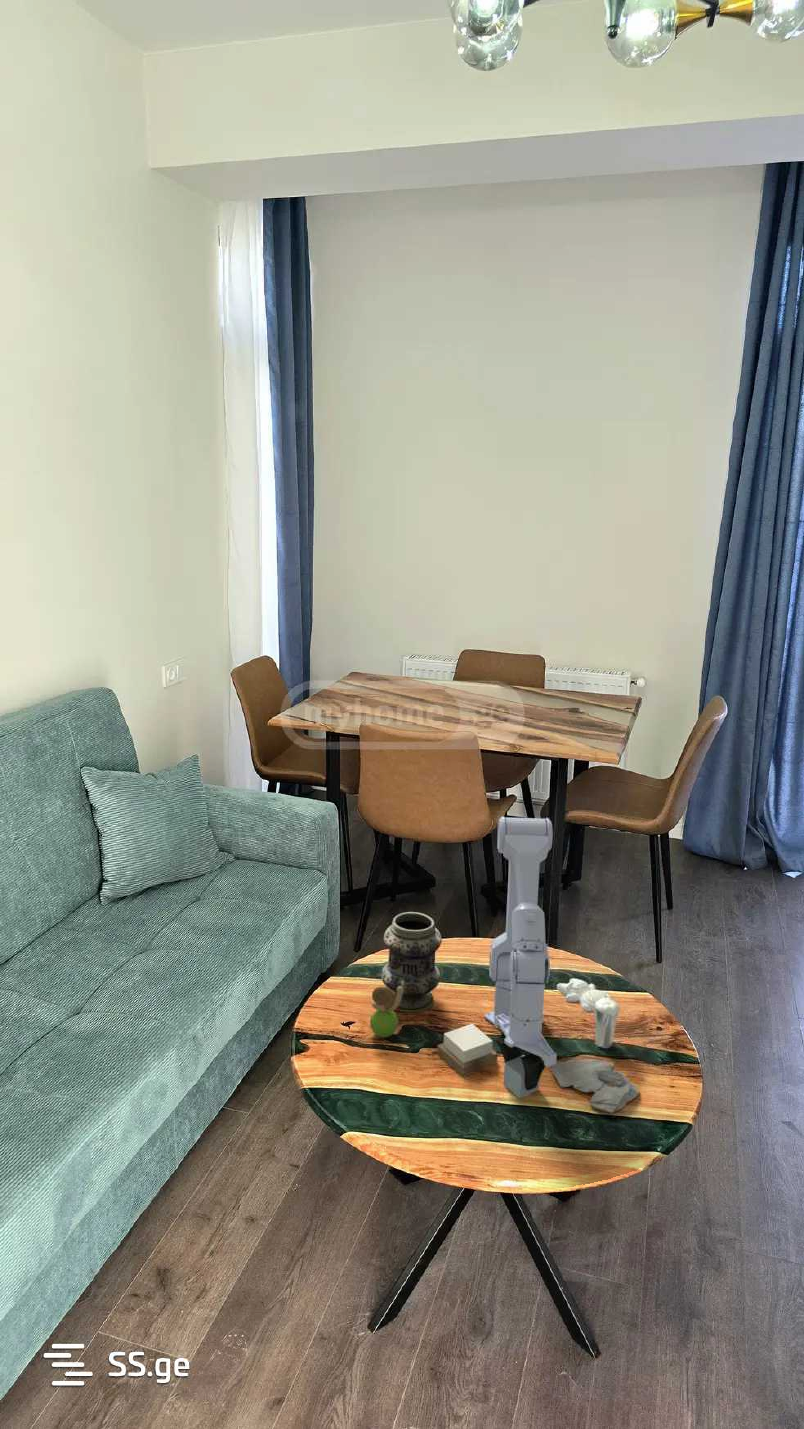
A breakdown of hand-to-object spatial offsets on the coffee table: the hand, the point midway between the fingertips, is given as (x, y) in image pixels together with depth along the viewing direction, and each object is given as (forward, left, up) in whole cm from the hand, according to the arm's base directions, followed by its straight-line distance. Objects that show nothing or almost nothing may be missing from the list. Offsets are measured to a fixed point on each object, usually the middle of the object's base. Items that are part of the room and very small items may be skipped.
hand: (521, 1080), depth 170 cm
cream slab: (+3, -12, 0) cm, 12 cm away
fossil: (-11, +6, -2) cm, 13 cm away
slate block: (0, 0, -1) cm, 1 cm away
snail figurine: (+12, -26, -2) cm, 29 cm away
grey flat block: (+3, -12, -2) cm, 13 cm away
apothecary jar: (+1, -34, -2) cm, 34 cm away
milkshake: (-22, -2, -2) cm, 22 cm away
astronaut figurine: (-31, -16, -2) cm, 35 cm away
